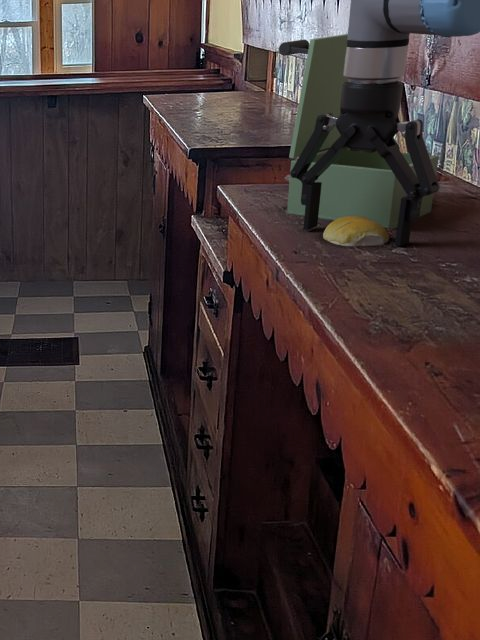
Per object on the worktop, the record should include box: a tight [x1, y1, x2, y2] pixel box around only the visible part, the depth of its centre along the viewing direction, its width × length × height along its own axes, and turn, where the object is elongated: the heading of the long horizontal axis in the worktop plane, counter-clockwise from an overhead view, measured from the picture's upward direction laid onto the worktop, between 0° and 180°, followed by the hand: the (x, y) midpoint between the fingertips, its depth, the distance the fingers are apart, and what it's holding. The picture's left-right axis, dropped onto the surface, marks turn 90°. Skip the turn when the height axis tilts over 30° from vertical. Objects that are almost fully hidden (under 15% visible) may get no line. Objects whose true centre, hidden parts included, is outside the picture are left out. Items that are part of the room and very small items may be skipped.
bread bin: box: [286, 148, 440, 230], centre depth 137 cm, size 17×15×9 cm
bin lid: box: [278, 33, 348, 159], centre depth 140 cm, size 18×15×8 cm
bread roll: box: [322, 216, 390, 247], centre depth 123 cm, size 8×9×4 cm
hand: (354, 235), depth 123 cm, fingers open, 13 cm apart
